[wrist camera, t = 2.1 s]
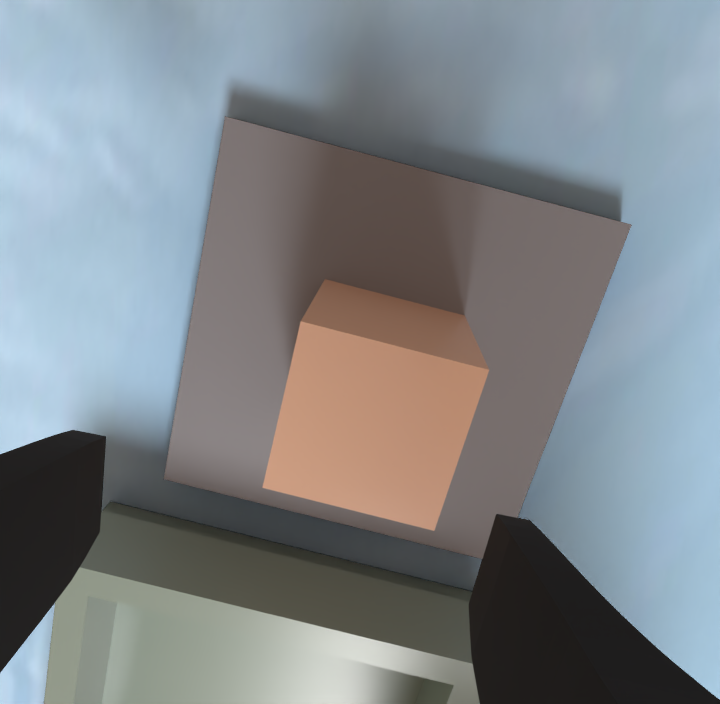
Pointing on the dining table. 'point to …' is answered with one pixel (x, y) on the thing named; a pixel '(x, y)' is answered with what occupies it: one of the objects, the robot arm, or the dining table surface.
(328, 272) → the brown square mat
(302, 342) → the clay block
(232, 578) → the olive bin
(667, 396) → the dining table surface
